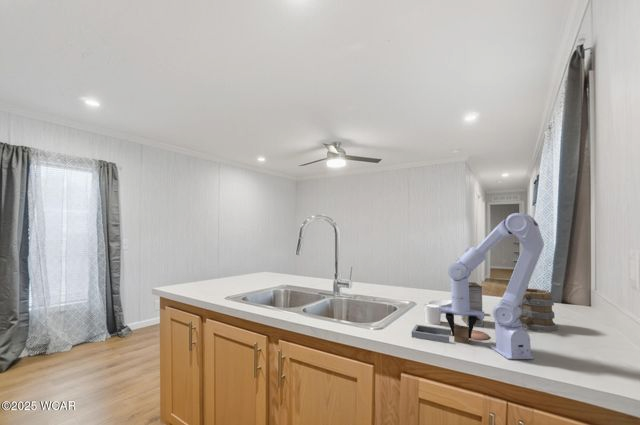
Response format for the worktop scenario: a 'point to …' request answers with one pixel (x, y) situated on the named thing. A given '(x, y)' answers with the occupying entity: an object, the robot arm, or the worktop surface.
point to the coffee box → (474, 302)
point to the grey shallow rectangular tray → (431, 333)
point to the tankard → (537, 310)
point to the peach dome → (479, 335)
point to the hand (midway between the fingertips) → (461, 336)
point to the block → (461, 334)
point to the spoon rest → (442, 303)
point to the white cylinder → (432, 313)
